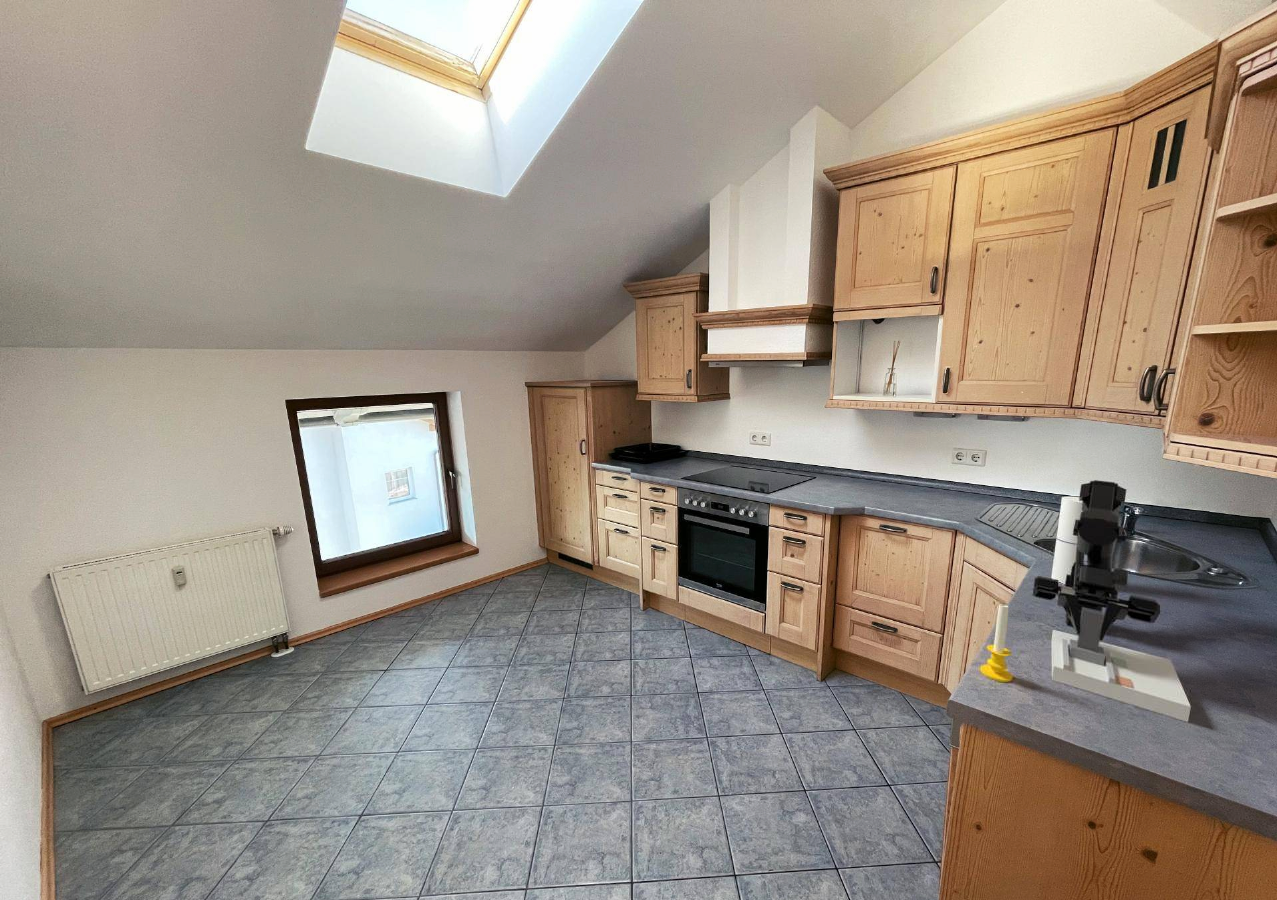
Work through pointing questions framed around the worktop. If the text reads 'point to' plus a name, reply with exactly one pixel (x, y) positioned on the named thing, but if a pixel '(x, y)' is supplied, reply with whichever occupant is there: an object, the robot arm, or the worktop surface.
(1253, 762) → the worktop surface
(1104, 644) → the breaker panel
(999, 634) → the candle
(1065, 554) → the cylindrical container
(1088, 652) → the handle
